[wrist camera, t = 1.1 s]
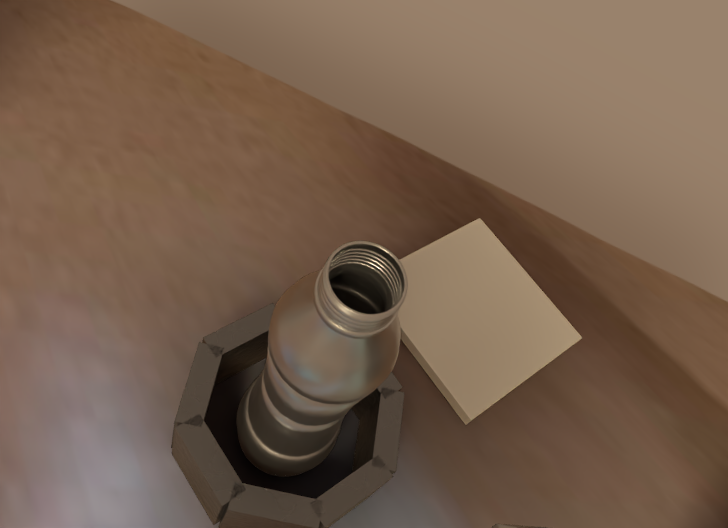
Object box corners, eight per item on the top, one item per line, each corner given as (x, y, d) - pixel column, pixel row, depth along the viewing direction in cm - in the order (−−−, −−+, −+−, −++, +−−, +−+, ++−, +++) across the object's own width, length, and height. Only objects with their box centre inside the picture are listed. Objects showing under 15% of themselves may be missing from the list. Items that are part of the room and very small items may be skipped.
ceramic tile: (360, 284, 51) (363, 278, 50) (475, 224, 58) (479, 217, 57) (465, 425, 47) (471, 420, 46) (575, 343, 54) (582, 337, 53)
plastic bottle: (215, 465, 41) (265, 318, 25) (252, 370, 45) (316, 190, 29) (313, 499, 41) (424, 377, 25) (341, 402, 45) (453, 243, 29)
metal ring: (140, 400, 42) (140, 369, 38) (307, 312, 48) (322, 278, 44) (249, 585, 38) (262, 573, 34) (414, 463, 45) (441, 440, 40)
